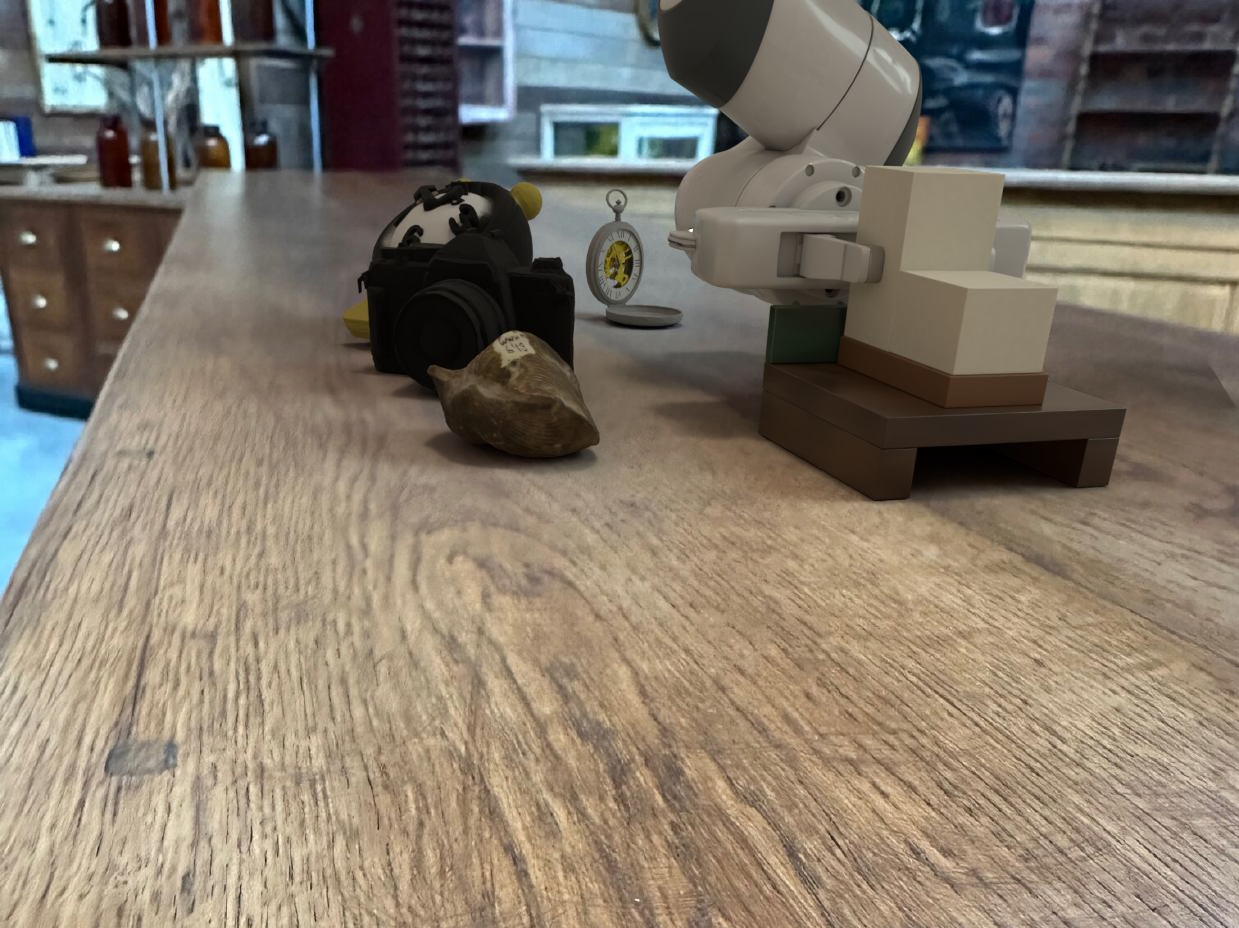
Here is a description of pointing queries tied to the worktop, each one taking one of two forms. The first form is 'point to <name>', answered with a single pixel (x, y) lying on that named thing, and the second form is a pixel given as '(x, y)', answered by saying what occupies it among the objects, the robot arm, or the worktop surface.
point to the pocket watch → (622, 273)
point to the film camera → (462, 303)
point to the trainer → (944, 294)
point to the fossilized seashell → (517, 399)
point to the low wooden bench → (911, 416)
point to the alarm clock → (457, 224)
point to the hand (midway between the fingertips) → (929, 266)
